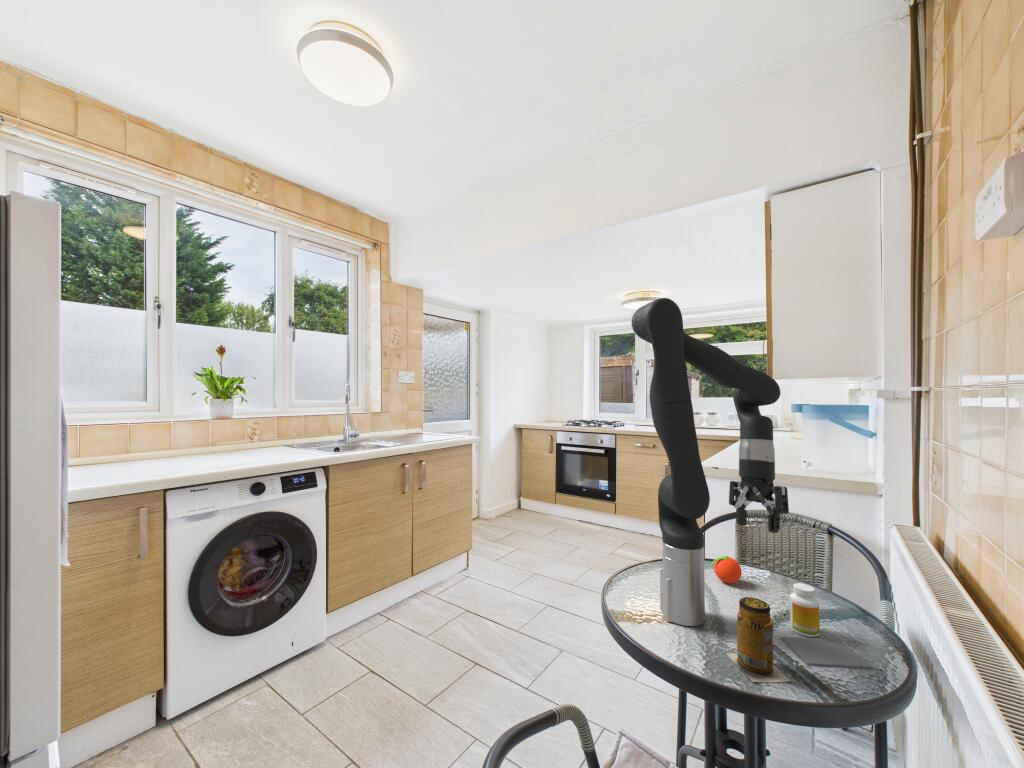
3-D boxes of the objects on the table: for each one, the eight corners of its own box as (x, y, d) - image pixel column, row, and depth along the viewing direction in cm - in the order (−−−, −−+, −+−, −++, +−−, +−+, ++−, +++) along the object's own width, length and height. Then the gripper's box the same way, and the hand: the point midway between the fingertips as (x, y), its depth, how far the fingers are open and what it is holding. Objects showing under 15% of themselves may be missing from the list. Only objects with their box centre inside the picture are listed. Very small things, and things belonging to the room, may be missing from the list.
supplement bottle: (824, 639, 90) (824, 593, 90) (796, 636, 91) (796, 591, 91) (812, 625, 95) (811, 582, 96) (786, 623, 96) (785, 580, 97)
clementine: (716, 587, 114) (716, 561, 115) (706, 576, 121) (705, 551, 122) (746, 588, 114) (746, 561, 114) (734, 577, 121) (733, 552, 121)
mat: (806, 665, 81) (806, 663, 81) (780, 638, 90) (780, 636, 90) (872, 668, 80) (872, 666, 80) (839, 641, 89) (839, 639, 89)
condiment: (761, 653, 85) (760, 593, 85) (791, 682, 77) (790, 615, 77) (726, 654, 85) (725, 594, 85) (752, 683, 76) (751, 616, 77)
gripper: (721, 456, 107) (720, 522, 104) (771, 458, 93) (772, 534, 91) (743, 459, 109) (744, 523, 106) (796, 461, 96) (797, 535, 93)
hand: (757, 528), depth 99 cm, fingers open, 8 cm apart
